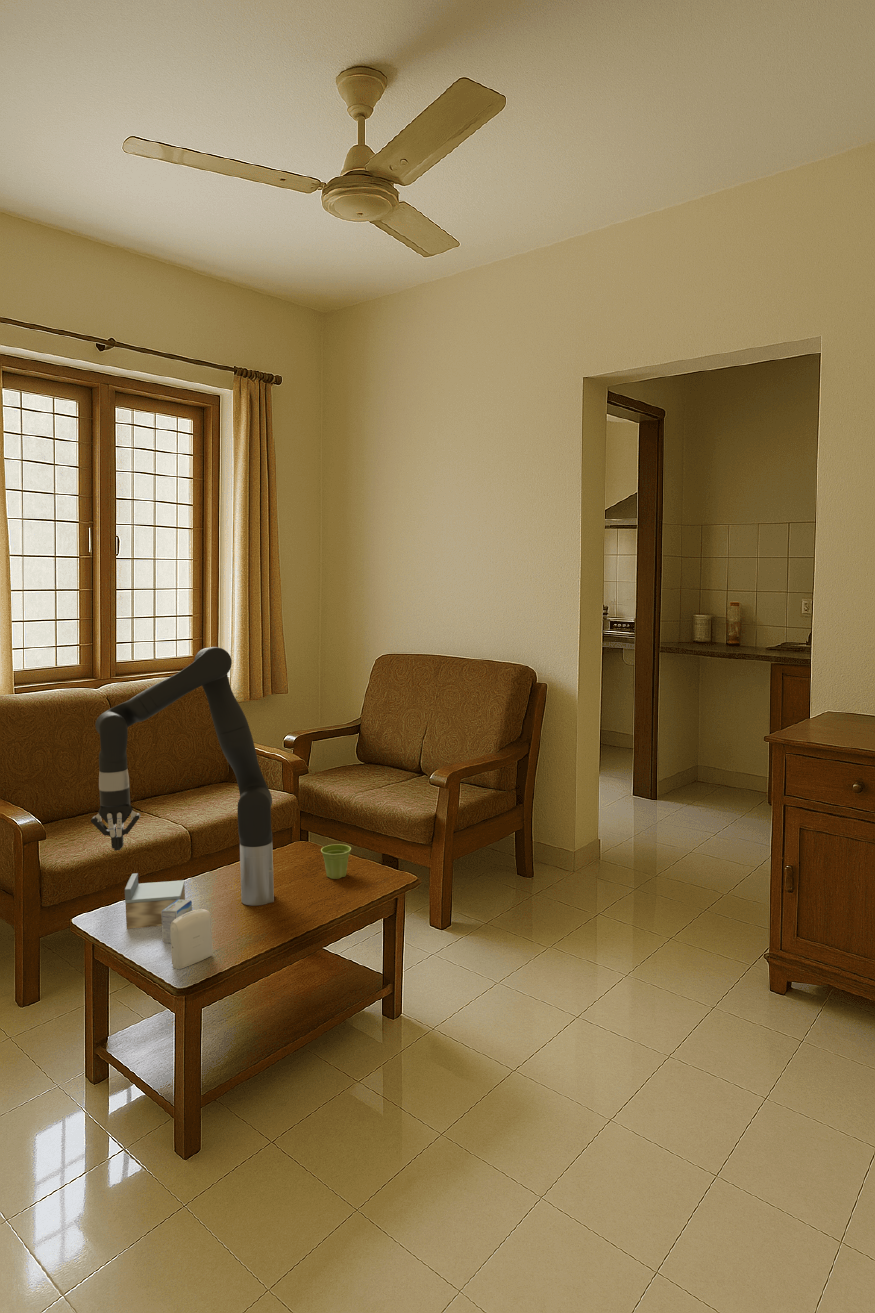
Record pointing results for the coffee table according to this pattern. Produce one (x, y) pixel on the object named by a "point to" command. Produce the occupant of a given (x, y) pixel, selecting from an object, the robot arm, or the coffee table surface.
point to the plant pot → (336, 860)
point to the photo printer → (191, 938)
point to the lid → (152, 890)
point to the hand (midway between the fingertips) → (117, 849)
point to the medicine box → (173, 916)
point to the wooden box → (147, 912)
